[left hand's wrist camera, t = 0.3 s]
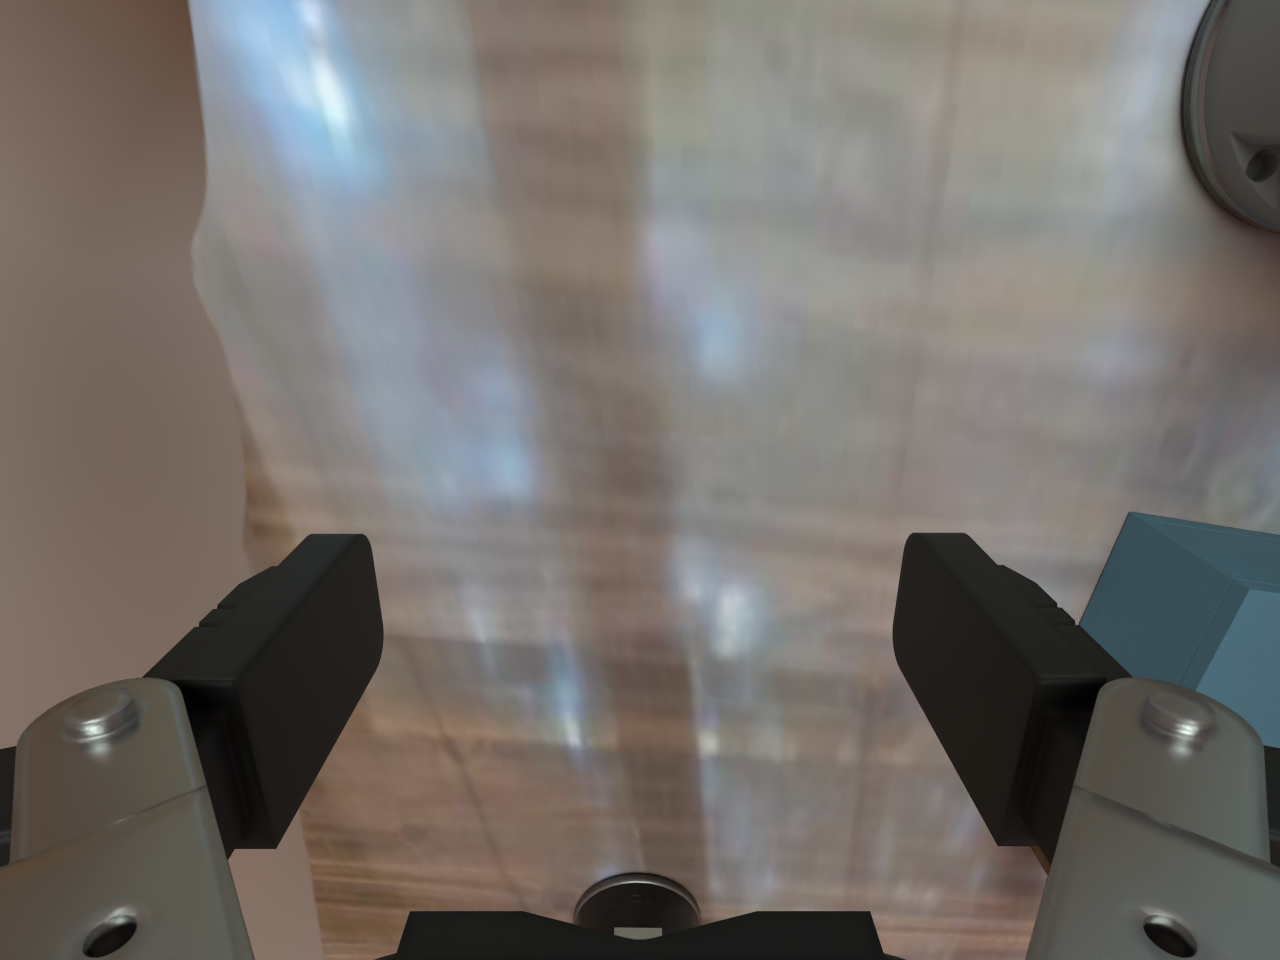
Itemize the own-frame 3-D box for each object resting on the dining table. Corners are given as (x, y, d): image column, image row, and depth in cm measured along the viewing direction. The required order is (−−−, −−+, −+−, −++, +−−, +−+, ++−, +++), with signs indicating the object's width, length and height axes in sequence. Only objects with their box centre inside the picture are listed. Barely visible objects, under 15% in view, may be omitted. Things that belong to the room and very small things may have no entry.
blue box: (1161, 805, 50) (1265, 926, 42) (1006, 784, 50) (1081, 904, 41) (1309, 539, 43) (1471, 623, 35) (1129, 511, 42) (1250, 589, 34)
